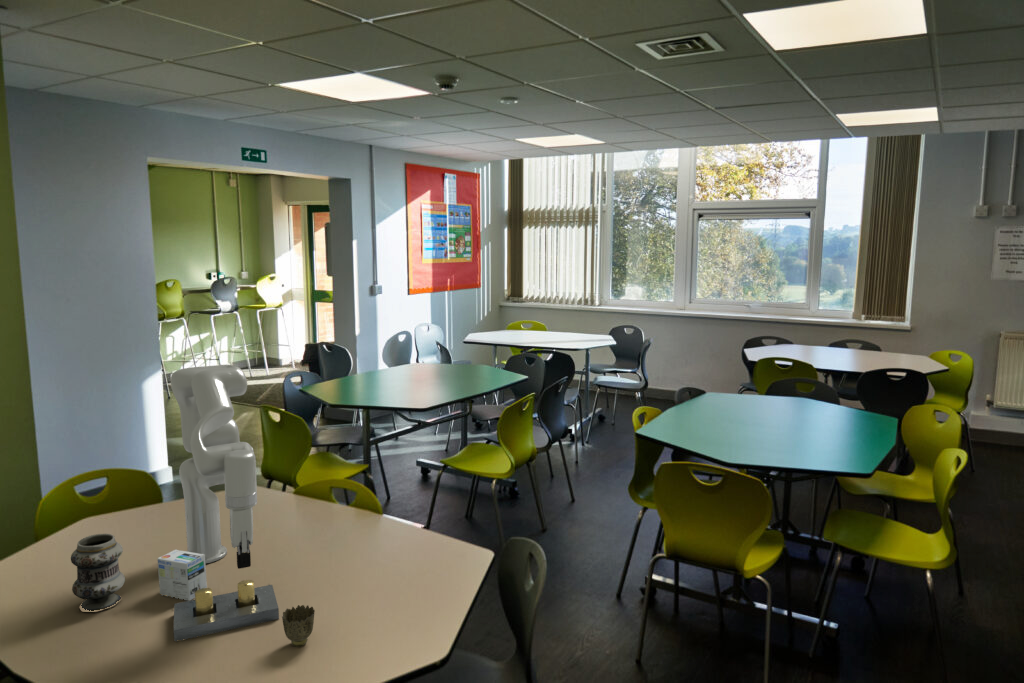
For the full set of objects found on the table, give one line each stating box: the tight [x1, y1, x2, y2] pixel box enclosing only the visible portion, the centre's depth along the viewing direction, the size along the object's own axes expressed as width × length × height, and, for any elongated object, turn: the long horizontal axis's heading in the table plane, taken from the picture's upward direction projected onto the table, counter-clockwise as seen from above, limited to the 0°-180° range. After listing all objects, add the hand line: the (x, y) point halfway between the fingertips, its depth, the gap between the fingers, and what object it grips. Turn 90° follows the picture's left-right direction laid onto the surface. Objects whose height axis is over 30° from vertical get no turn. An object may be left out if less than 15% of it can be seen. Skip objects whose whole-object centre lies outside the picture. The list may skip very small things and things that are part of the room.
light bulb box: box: [156, 549, 208, 601], centre depth 187 cm, size 11×7×11 cm, turn 71°
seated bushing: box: [194, 587, 214, 617], centre depth 172 cm, size 4×4×8 cm
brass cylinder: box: [237, 579, 255, 608], centre depth 177 cm, size 4×4×8 cm
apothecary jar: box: [70, 533, 126, 611], centre depth 181 cm, size 12×12×18 cm
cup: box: [281, 604, 316, 648], centre depth 162 cm, size 8×7×8 cm
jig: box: [173, 584, 280, 642], centre depth 175 cm, size 14×24×3 cm, turn 116°
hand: (243, 566), depth 176 cm, fingers closed
